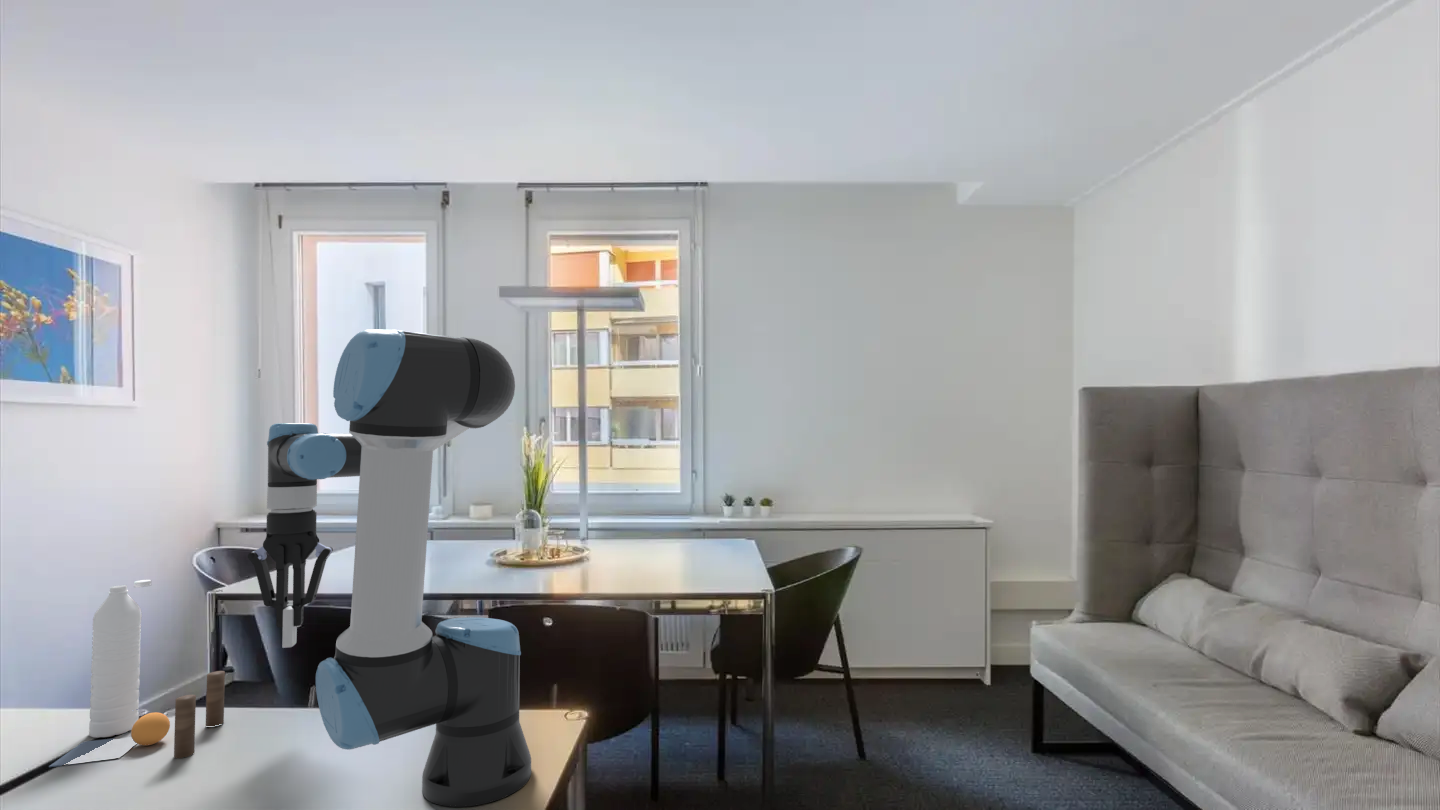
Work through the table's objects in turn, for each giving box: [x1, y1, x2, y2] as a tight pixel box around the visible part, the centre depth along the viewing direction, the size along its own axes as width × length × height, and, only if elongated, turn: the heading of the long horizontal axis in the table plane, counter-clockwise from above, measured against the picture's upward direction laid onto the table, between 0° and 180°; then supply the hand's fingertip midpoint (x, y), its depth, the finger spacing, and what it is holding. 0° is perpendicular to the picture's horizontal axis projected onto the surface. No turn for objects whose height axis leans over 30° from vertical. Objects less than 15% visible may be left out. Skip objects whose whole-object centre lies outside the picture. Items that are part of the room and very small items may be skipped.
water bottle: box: [88, 579, 152, 739], centre depth 122 cm, size 9×6×25 cm
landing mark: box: [48, 737, 116, 768], centre depth 112 cm, size 9×9×1 cm
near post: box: [173, 694, 197, 759], centre depth 111 cm, size 3×3×9 cm
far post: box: [205, 670, 226, 727], centre depth 122 cm, size 3×3×9 cm
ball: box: [130, 711, 171, 746], centre depth 115 cm, size 5×5×5 cm
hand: (289, 645), depth 121 cm, fingers closed
